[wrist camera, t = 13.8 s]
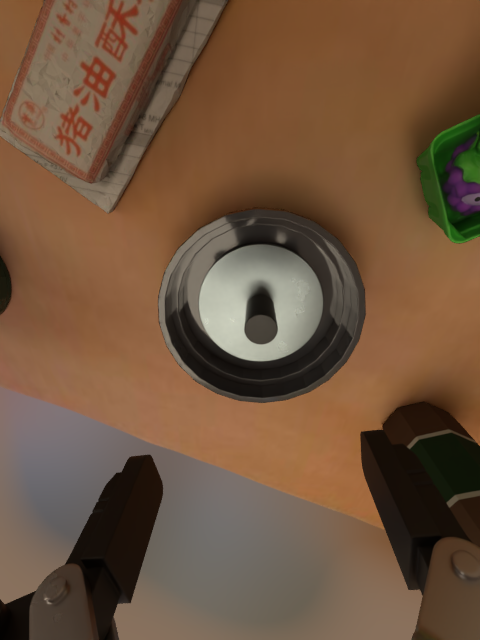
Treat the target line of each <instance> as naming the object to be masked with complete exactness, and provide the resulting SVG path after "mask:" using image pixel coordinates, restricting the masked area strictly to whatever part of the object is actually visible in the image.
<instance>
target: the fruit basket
mask: <svg viewBox="0 0 480 640" xmlns="http://www.w3.org/2000/svg"><path fill="white" fill-rule="evenodd" d="M416 162H417V166H418V167H419V169H420V170H421V171H422V172H421V177H420V180H421V184H422V189H423V193H424V197H425V201H426V202H427V204H428V205H429V208H428V215H429V218H430V219H432V220H433V221H434V222H435V223H436V224H437V225H438V226H439V227H440V228H441V229H443V230H444V233H445V234H446V236H447V237H448V238H449V239H450V240H451V241H452V242H454V243H464V242H467V241H469V240H472V239H474V238H477V237H479V236H480V114H478V115H476V116H474V117H472V118H470V119H468V120H466V121H464V122H461V123H459V124H457V125H455V126H453V127H451V128H449V129H447V130H444V131H442V132H441V133H440V134H438V135H437V136H436V137H435V139H434V140H433V141H432V142H431V144H430V146H429V147H428V148H427V149H426V150H425V151H424V152H423V153H422V154H421V155H420V156H419V157H418V158H417V161H416Z"/></svg>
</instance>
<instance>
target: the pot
mask: <svg viewBox="0 0 480 640" xmlns="http://www.w3.org/2000/svg"><path fill="white" fill-rule="evenodd" d="M10 297H11V282H10V277H9V273H8V270H7V268H6V266H5V264H4V262H3V260H2V258H1V256H0V315H1V314H2V313H3V312H4V310H5V309H6V307H7V305H8V303H9V300H10Z"/></svg>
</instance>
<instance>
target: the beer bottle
mask: <svg viewBox="0 0 480 640" xmlns="http://www.w3.org/2000/svg"><path fill="white" fill-rule="evenodd" d="M383 430H384V432H385V433H386V435H387V437H388V439H389V440H390V442H391V444H392V445H393V444H404V445H405V446H406V447H408V448H409V449H410V450H411V451H412V452H414V453H415V454H416V455H417V457H418V458H419V460H420V461H421V463H422V465H423V466H424V468H425V470H426V472H427V473H428V474H429V476H430V477H431V479H432V481H433V484H434V485H435V486H436V487H437V489H438V490H439V492H440V494H441V495H442V497H443V498H444V500H445V502H446V503H447V505H448V506H449V508H450V510H451V511H452V513H453V514H454V516H455V518H456V519H457V521H458V523H459V524H460V526H461V527H462V529H463V531H464V532H465V534H466V535H467V536H468V538H469V539H470V540H471V541H472V542H473V543H474V544H475V545H477V546H478V547H480V446H479V445H478V444H477V443H476V442H475V440H474V439H473V438H472V437H471V436H470V435H469V434H468V433H467V431H466V430H465V429H464V428H463V427H462V426H461V425H460V424H459V423H458V422H457V421H456V420H455V419H454V418H453V417H452V416H451V415H450V414H449V413H448V412H446V411H444V410H442V409H439V408H437V407H435V406H433V405H430V404H428V403H426V402H421V403H417V404H412V405H408V406H404V407H400V408H397V410H396V411H395V412H394V413H393V414H392V415H391V417H390V418H389V419H388V420H387V421H386V423H385V424H384V425H383Z"/></svg>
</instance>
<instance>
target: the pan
mask: <svg viewBox="0 0 480 640" xmlns="http://www.w3.org/2000/svg"><path fill="white" fill-rule="evenodd" d="M256 243H268V244H275V245H278V246H282V247H285V248H287V249H289V250H291V251H293V252H295V253H296V254H298V255H299V256H301V257H302V258H303V259H304V260H305V261H306V262H307V263H308V264H309V265H310V266H311V267H312V269H313V270H314V272H315V273H316V275H317V277H318V279H319V281H320V284H321V288H322V292H323V313H322V317H321V320H320V323H319V325H318V327H317V329H316V331H315V333H314V334H313V336H312V337H311V338H310V339H309V341H308V342H307V343H306V344H305V345H304V346H302V347H301V348H300V349H298V350H297V351H295V352H294V353H292V354H290V355H288V356H286V357H283V358H280V359H277V360H272V361H263V362H259V361H249V360H244V359H241V358H238V357H235V356H233V355H231V354H229V353H227V352H226V351H224V350H223V349H221V348H220V347H219V346H218V345H217V344H216V343H215V342H214V341H213V340H212V339H211V338H210V337H209V335H208V334H207V332H206V330H205V328H204V326H203V324H202V321H201V318H200V314H199V305H198V300H199V292H200V288H201V285H202V282H203V280H204V278H205V276H206V274H207V272H208V271H209V270H210V268H211V267H212V266H213V264H214V263H215V262H216V261H217V260H218V259H219V258H221V257H222V256H223V255H225V254H226V253H228V252H230V251H231V250H233V249H236V248H238V247H241V246H244V245H248V244H256ZM158 312H159V324H160V327H161V330H162V333H163V337H164V340H165V343H166V345H167V347H168V349H169V350H170V352H171V354H172V355H173V357H174V358H175V360H176V361H177V363H178V365H179V366H180V367H181V368H182V369H183V370H184V371H185V372H186V373H188V374H189V375H190V376H191V377H192V378H193V379H194V380H195V381H196V382H197V383H199V384H201V385H203V386H204V387H206V388H208V389H209V390H211V391H213V392H215V393H217V394H219V395H222V396H226V397H229V398H232V399H235V400H238V401H247V402H258V403H267V402H275V401H283V400H288V399H291V398H294V397H297V396H299V395H302V394H305V393H308V392H310V391H312V390H313V389H315V388H317V387H318V386H320V385H321V384H323V383H325V382H326V381H328V380H329V379H330V378H331V377H332V376H333V375H334V374H335V373H336V372H337V371H338V370H339V369H340V368H341V367H342V366H343V365H344V364H345V363H346V362H347V360H348V359H349V357H350V355H351V353H352V352H353V350H354V348H355V346H356V345H357V343H358V341H359V339H360V335H361V331H362V327H363V323H364V319H365V315H366V311H365V289H364V285H363V282H362V280H361V277H360V274H359V271H358V268H357V265H356V263H355V261H354V260H353V258H352V257H351V256H350V254H349V253H348V252H347V250H346V249H345V247H344V246H343V245H342V243H341V242H340V241H339V240H338V239H337V238H336V237H335V236H333V235H332V234H331V233H329V232H328V231H327V230H325V229H324V228H323V227H321V226H320V225H319V224H317V223H316V222H314V221H312V220H309V219H307V218H305V217H302V216H299V215H297V214H294V213H291V212H289V211H286V210H284V209H283V210H282V209H274V208H262V207H254V208H249V209H244V210H239V211H234V212H230V213H228V214H226V215H224V216H222V217H220V218H218V219H216V220H214V221H212V222H210V223H208V224H206V225H205V226H203V227H201V228H200V229H198V230H197V231H196V232H195V233H194V234H193V235H192V236H191V237H190V238H189V239H187V240H186V241H185V242H184V243H183V244H182V245H181V246H180V247H179V248H178V249H177V251H176V253H175V255H174V256H173V258H172V260H171V261H170V263H169V265H168V266H167V268H166V270H165V272H164V275H163V279H162V283H161V287H160V291H159V295H158Z"/></svg>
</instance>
